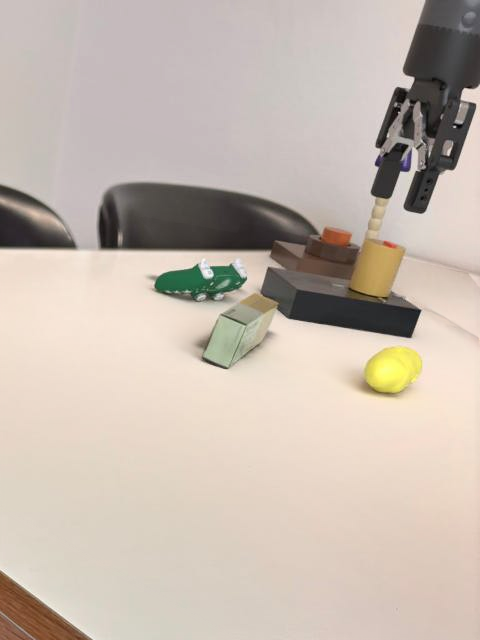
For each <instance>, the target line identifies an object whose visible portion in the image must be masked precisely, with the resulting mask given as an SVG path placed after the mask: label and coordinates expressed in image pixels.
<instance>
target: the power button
mask: <svg viewBox="0 0 480 640" xmlns="http://www.w3.org/2000/svg"><path fill="white" fill-rule="evenodd" d="M352 237H353V233H352V232H351V231H349V230H345V229H341V228H338V227H332V226H324V227H323V231H322V234H321V240H323V241H325V242H329V243H333V244H337V245H342V246H349V243H350V242H351V240H352Z"/></svg>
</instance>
